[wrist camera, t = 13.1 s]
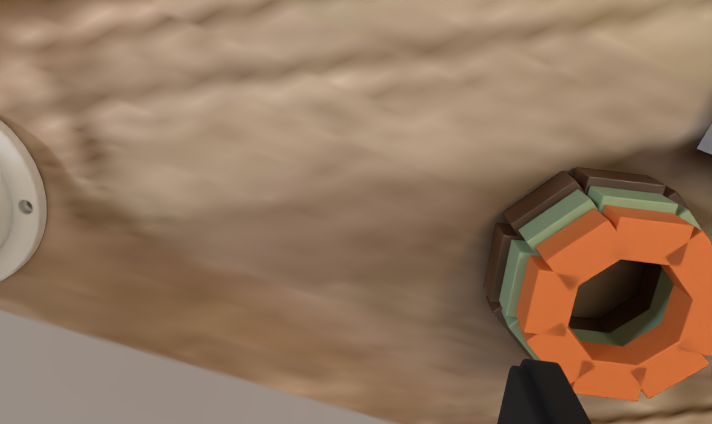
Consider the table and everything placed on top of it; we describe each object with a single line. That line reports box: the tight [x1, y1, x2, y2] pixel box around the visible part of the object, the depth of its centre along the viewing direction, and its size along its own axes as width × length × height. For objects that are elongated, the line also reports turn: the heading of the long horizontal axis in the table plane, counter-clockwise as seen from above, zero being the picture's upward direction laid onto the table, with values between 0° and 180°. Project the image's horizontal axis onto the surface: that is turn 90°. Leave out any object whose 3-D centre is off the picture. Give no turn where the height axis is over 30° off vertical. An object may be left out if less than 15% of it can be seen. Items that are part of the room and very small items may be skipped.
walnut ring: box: [484, 167, 689, 360], centre depth 34 cm, size 12×12×2 cm
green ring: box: [499, 186, 703, 361], centre depth 32 cm, size 11×11×2 cm
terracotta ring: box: [516, 205, 712, 401], centre depth 30 cm, size 10×10×2 cm
